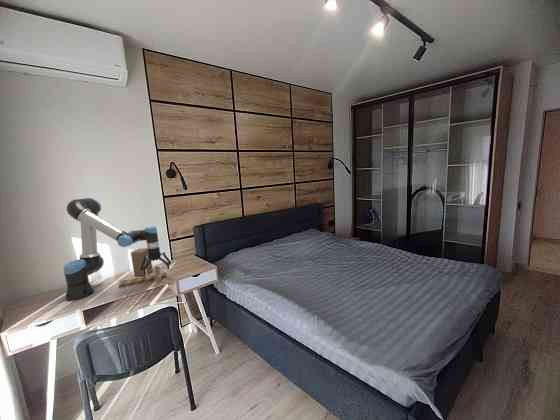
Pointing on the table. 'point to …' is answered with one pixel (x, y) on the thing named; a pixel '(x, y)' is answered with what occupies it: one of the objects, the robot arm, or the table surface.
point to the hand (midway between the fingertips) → (157, 275)
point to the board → (139, 280)
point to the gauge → (157, 274)
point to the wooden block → (140, 261)
